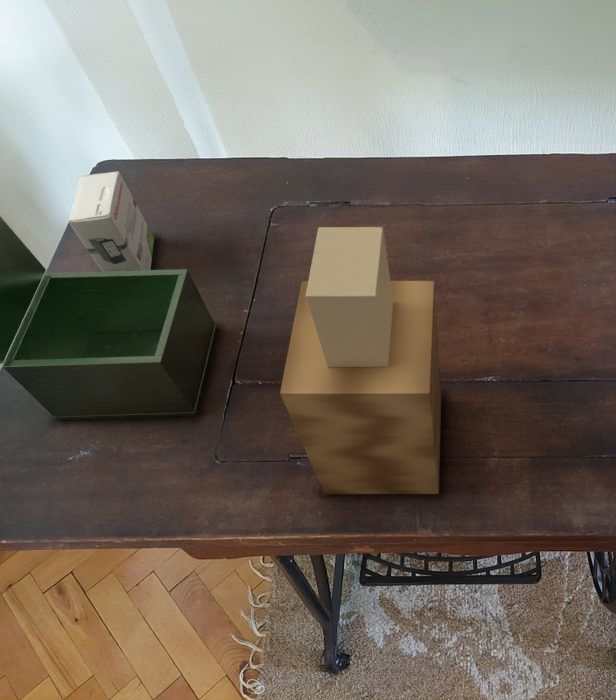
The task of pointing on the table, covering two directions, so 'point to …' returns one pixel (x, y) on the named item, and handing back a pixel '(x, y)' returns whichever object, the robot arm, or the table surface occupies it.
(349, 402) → the stand
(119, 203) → the ink box
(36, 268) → the lid
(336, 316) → the carton
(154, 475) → the table surface
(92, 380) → the bin
